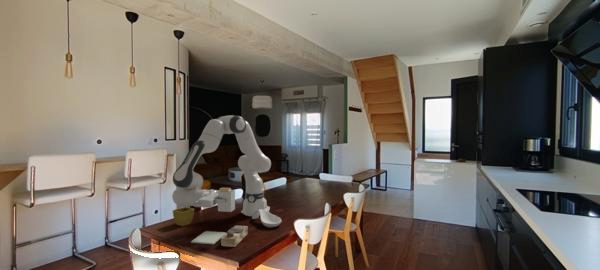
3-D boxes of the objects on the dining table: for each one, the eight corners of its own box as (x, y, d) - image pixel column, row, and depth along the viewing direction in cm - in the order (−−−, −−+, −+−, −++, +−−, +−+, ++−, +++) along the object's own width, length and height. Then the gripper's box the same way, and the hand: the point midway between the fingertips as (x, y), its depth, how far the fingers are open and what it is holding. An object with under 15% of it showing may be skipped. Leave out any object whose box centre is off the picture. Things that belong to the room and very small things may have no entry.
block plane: (235, 232, 149) (235, 222, 149) (247, 233, 148) (247, 223, 148) (221, 245, 133) (221, 234, 133) (234, 246, 131) (234, 235, 131)
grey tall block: (222, 208, 144) (222, 187, 144) (234, 209, 143) (235, 187, 143) (217, 211, 139) (218, 189, 139) (231, 211, 138) (231, 189, 138)
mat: (205, 232, 150) (205, 231, 150) (226, 233, 148) (226, 232, 148) (191, 242, 136) (191, 241, 136) (213, 244, 134) (213, 243, 134)
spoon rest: (285, 226, 160) (285, 214, 160) (269, 231, 152) (269, 218, 152) (262, 216, 177) (262, 205, 177) (246, 221, 169) (246, 209, 169)
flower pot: (185, 221, 168) (185, 206, 168) (194, 223, 164) (194, 208, 164) (172, 225, 161) (172, 210, 161) (181, 228, 156) (181, 212, 156)
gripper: (192, 197, 133) (218, 198, 131) (212, 188, 153) (235, 189, 151) (192, 209, 133) (218, 211, 131) (212, 199, 153) (235, 200, 151)
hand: (228, 199), depth 141 cm, fingers closed on grey tall block, 5 cm apart
